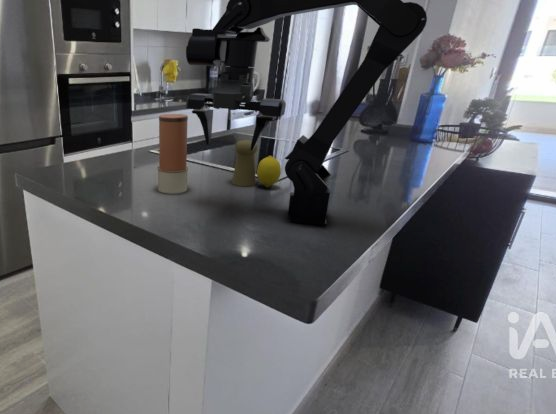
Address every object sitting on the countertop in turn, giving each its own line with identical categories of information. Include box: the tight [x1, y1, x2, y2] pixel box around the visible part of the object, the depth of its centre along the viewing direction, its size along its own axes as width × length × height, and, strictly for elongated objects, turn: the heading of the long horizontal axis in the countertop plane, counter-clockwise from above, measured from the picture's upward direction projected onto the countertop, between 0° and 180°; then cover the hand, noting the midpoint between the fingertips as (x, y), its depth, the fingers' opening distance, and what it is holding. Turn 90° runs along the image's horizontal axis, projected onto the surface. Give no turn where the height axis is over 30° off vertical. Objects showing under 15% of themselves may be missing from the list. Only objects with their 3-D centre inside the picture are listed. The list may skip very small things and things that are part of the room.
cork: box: [231, 139, 258, 187], centre depth 97 cm, size 6×6×11 cm
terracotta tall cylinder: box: [158, 113, 189, 171], centre depth 91 cm, size 7×7×12 cm
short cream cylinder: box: [157, 166, 189, 195], centre depth 94 cm, size 7×7×6 cm
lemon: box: [256, 155, 282, 188], centre depth 94 cm, size 6×6×8 cm
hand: (229, 147), depth 79 cm, fingers open, 9 cm apart
